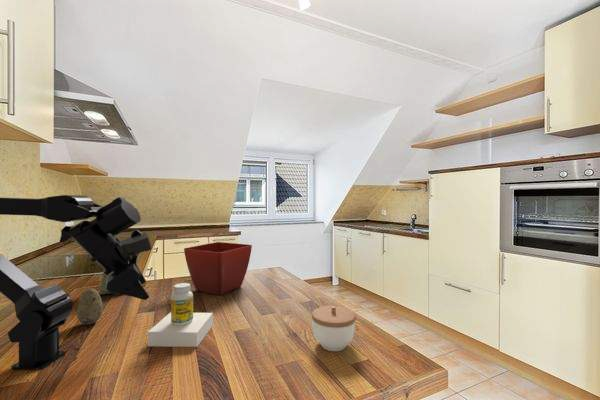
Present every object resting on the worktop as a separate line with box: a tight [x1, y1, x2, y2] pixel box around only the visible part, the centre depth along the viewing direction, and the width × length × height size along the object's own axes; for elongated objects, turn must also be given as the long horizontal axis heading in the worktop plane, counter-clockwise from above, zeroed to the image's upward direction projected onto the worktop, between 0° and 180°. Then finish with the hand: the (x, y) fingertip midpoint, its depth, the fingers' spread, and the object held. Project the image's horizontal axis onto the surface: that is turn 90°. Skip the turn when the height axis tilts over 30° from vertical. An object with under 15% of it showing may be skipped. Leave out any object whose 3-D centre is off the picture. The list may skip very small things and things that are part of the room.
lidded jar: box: [311, 305, 357, 352], centre depth 71 cm, size 11×11×9 cm
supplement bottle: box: [170, 282, 194, 325], centre depth 76 cm, size 5×5×10 cm
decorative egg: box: [76, 287, 104, 325], centre depth 82 cm, size 6×6×10 cm
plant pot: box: [183, 241, 253, 296], centre depth 115 cm, size 19×19×17 cm
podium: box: [147, 311, 214, 348], centre depth 76 cm, size 12×12×4 cm
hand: (145, 290), depth 72 cm, fingers open, 9 cm apart
